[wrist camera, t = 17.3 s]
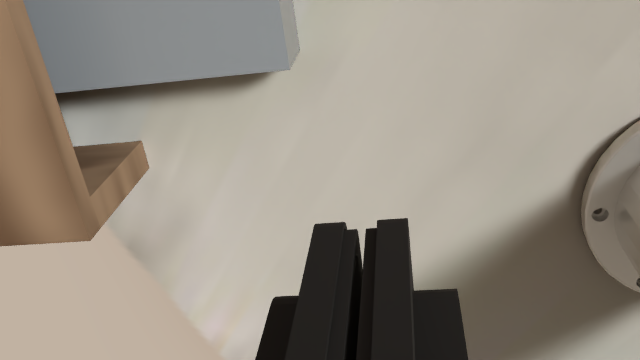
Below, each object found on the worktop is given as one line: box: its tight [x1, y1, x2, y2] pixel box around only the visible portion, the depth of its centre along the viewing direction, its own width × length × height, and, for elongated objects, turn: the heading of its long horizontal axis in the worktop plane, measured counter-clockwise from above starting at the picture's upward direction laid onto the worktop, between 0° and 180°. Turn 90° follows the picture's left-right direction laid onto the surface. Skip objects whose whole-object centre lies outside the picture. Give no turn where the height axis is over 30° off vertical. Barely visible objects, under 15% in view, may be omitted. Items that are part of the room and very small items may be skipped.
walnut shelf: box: [0, 0, 149, 246], centre depth 31 cm, size 8×15×8 cm, turn 8°
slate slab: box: [23, 0, 300, 93], centre depth 32 cm, size 16×5×4 cm, turn 98°
